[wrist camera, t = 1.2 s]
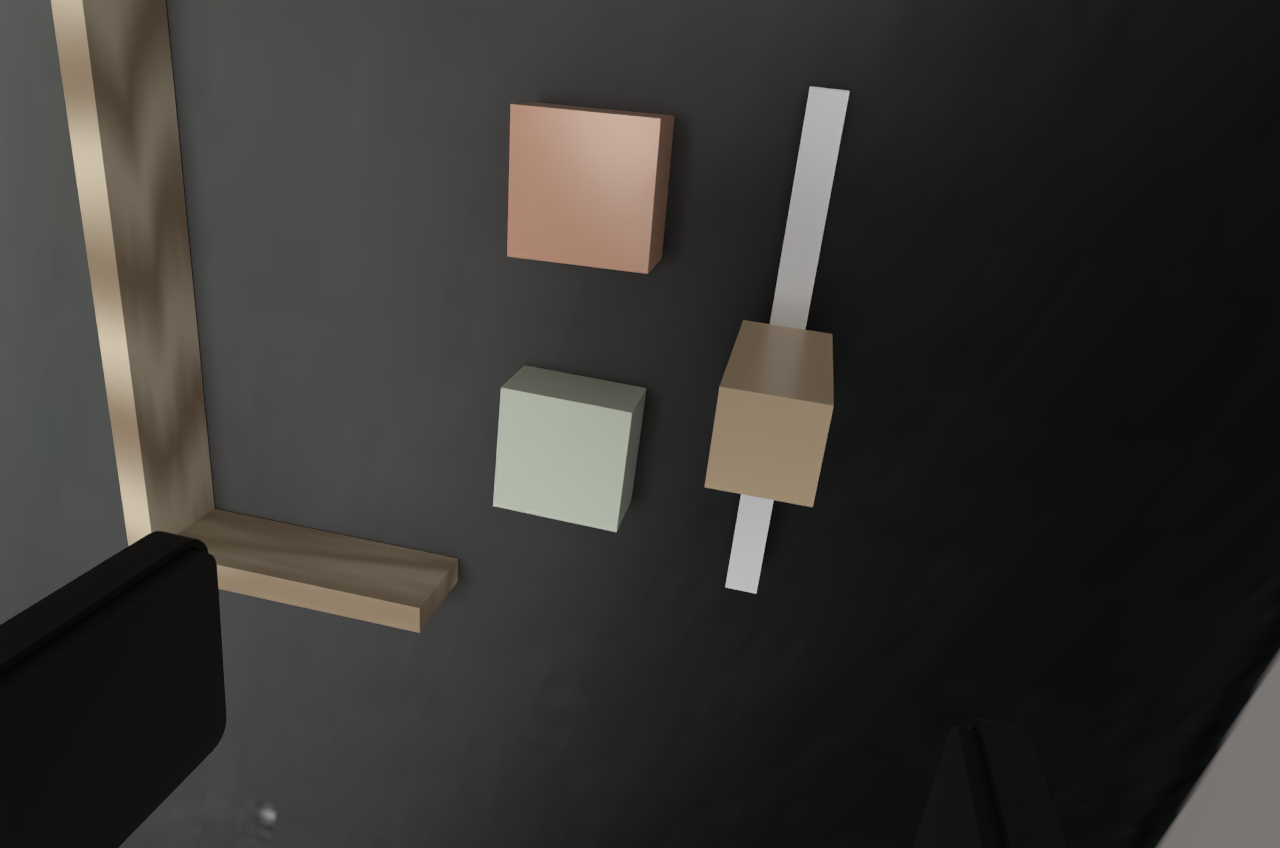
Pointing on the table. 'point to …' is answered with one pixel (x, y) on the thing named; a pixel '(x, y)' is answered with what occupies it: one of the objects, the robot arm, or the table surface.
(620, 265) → the terracotta tile
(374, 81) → the table surface
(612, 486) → the pale green square block
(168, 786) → the robot arm
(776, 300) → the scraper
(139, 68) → the box
